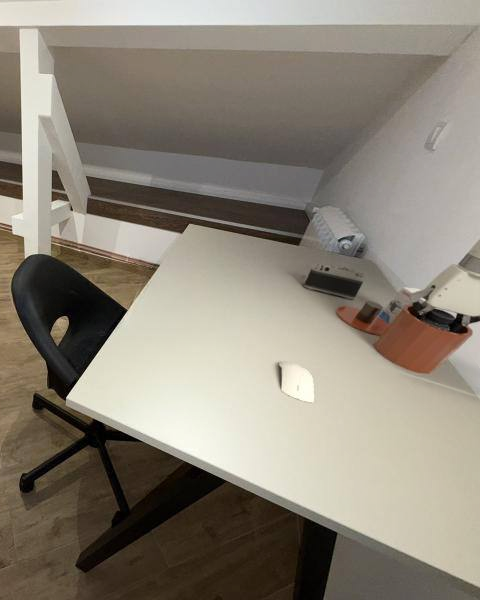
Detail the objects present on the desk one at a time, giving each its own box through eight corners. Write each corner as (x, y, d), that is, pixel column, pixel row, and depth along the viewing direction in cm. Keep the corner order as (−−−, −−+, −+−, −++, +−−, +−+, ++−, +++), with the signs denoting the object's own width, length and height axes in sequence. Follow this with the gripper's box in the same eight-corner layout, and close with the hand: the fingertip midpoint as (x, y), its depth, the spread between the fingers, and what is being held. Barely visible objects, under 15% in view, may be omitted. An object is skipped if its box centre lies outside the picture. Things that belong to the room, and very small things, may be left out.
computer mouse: (281, 393, 69) (285, 386, 67) (276, 359, 78) (281, 352, 77) (315, 405, 67) (321, 398, 65) (307, 369, 76) (311, 362, 75)
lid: (380, 318, 99) (394, 301, 95) (396, 343, 88) (412, 324, 85) (331, 304, 103) (342, 287, 100) (340, 327, 93) (353, 308, 89)
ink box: (376, 317, 99) (401, 286, 93) (392, 318, 100) (417, 287, 93) (399, 334, 92) (427, 302, 86) (415, 336, 92) (444, 304, 86)
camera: (345, 295, 113) (358, 269, 110) (355, 301, 105) (370, 273, 102) (297, 283, 118) (308, 258, 114) (304, 288, 110) (316, 261, 107)
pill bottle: (390, 340, 83) (419, 306, 77) (406, 338, 84) (436, 305, 78) (416, 356, 78) (448, 322, 72) (432, 354, 80) (466, 320, 73)
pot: (420, 351, 86) (456, 314, 79) (441, 382, 76) (484, 342, 69) (367, 336, 90) (396, 299, 83) (380, 363, 80) (415, 324, 73)
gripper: (526, 270, 68) (463, 333, 78) (428, 250, 74) (381, 311, 84) (552, 285, 62) (480, 351, 72) (443, 262, 68) (390, 326, 78)
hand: (427, 329), depth 78 cm, fingers closed on pill bottle, 6 cm apart
